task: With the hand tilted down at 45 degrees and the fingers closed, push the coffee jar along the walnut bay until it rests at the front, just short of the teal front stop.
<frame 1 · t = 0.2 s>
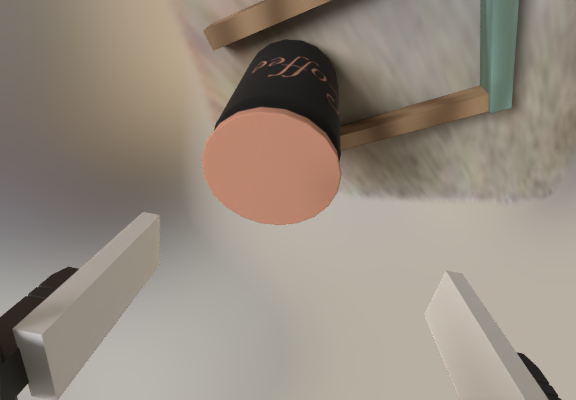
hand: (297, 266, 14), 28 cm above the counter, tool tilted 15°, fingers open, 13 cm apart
coffee jar: (292, 84, 37), on the counter
bay: (359, 61, 34), on the counter
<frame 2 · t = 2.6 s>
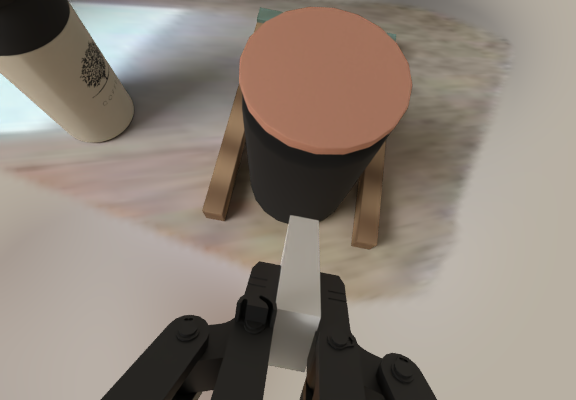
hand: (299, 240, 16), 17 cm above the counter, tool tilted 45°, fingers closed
coffee jar: (297, 184, 36), on the counter
bay: (308, 124, 38), on the counter
travel mug: (101, 115, 37), on the counter
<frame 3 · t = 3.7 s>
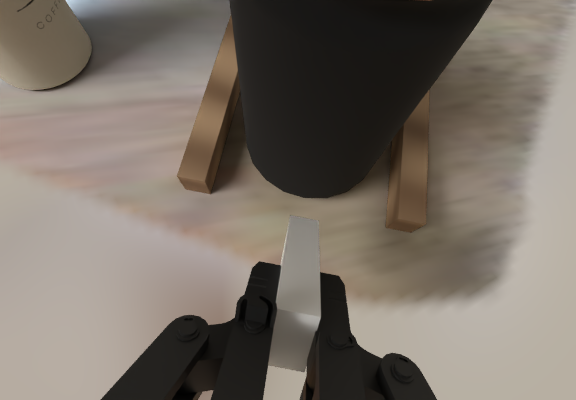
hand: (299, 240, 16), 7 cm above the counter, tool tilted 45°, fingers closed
coffee jar: (309, 146, 27), on the counter
bay: (322, 71, 29), on the counter
travel mug: (48, 57, 28), on the counter
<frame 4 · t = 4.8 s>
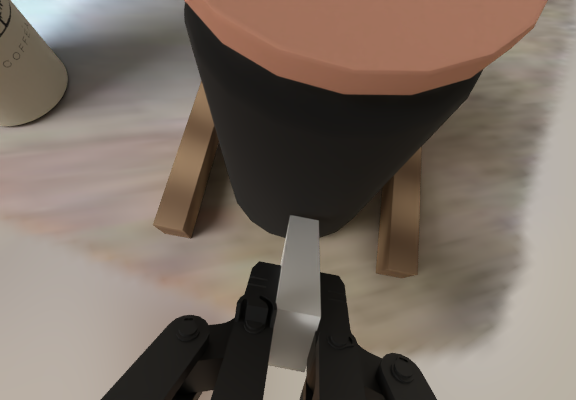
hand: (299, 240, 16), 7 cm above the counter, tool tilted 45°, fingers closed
coffee jar: (297, 179, 25), on the counter, touching gripper
bay: (311, 101, 28), on the counter
travel mug: (22, 89, 26), on the counter
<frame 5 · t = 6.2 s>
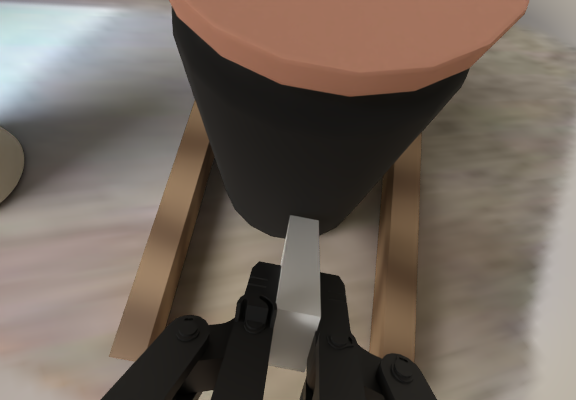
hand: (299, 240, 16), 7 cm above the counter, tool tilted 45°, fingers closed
coffee jar: (292, 179, 25), on the counter, touching gripper
bay: (296, 183, 25), on the counter
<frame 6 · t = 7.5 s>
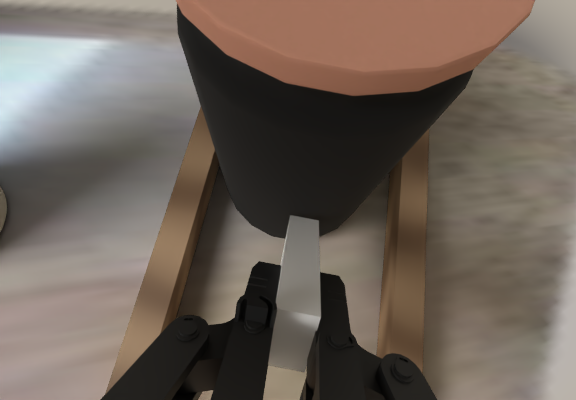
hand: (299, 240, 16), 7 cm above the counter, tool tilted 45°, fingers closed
coffee jar: (293, 180, 25), on the counter, touching gripper
bay: (294, 231, 24), on the counter
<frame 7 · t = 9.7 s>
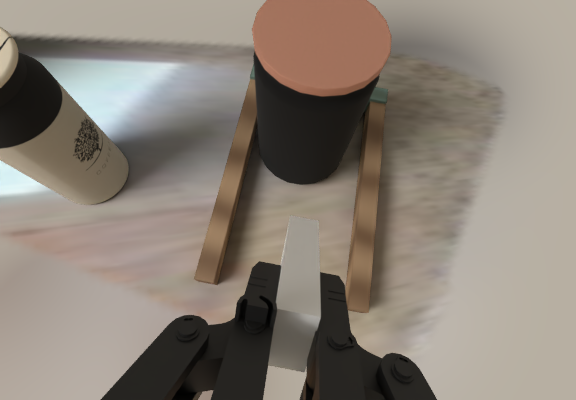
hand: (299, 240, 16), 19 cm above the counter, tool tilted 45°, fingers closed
coffee jar: (300, 151, 40), on the counter
bay: (301, 181, 39), on the counter
travel mug: (96, 175, 38), on the counter
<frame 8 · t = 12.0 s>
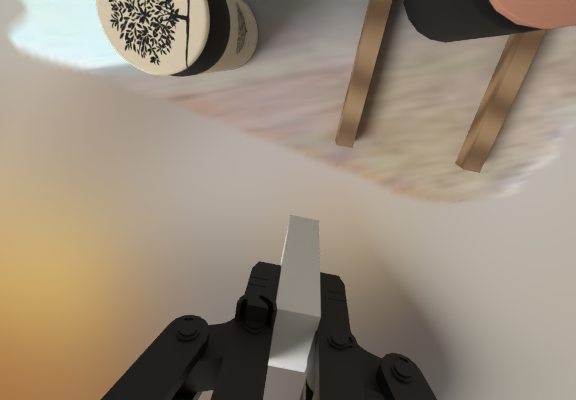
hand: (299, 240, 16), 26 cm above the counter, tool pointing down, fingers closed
bay: (444, 33, 35), on the counter
travel mug: (225, 33, 36), on the counter
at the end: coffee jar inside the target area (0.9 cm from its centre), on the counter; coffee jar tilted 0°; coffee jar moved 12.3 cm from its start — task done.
